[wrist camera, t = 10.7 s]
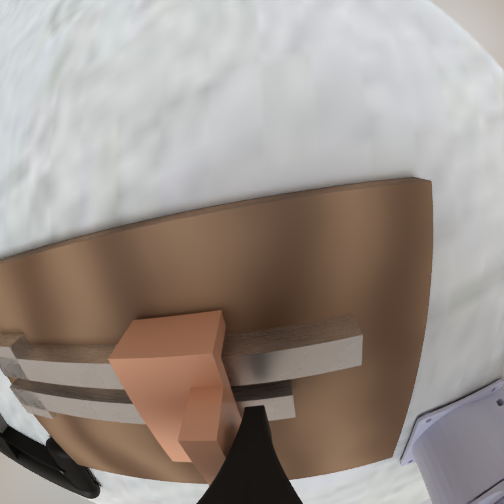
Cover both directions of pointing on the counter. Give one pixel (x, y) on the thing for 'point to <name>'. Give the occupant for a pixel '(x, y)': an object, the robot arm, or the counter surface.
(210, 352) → the sleeve
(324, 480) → the counter surface
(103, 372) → the fixed tong arm
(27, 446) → the door handle
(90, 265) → the walnut board
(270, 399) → the tong arm
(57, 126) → the counter surface
